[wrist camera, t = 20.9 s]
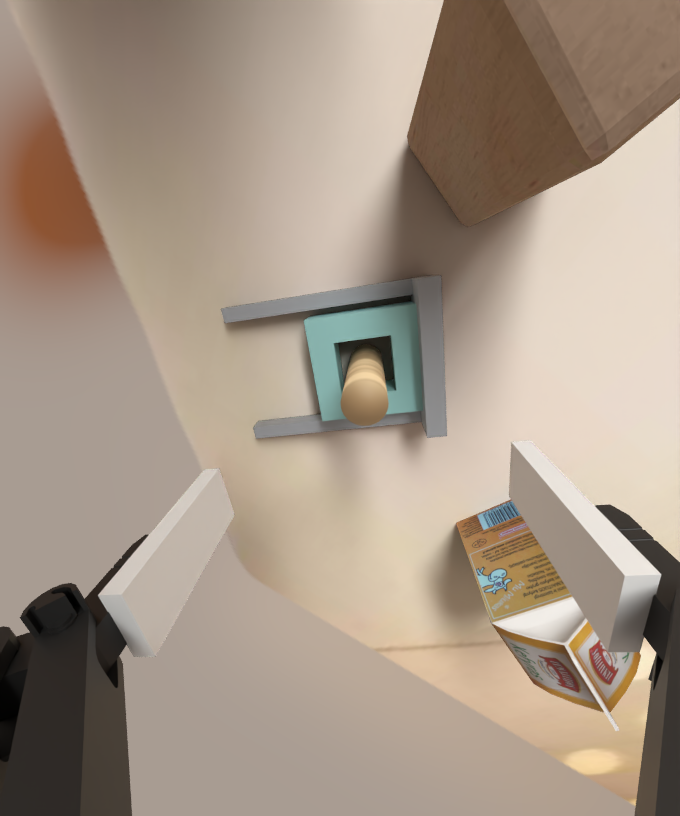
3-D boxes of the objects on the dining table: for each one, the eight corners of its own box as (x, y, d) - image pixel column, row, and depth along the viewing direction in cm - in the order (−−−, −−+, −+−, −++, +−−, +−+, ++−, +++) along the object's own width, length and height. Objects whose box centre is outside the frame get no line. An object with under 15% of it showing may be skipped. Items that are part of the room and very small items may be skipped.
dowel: (348, 346, 37) (337, 384, 24) (380, 342, 37) (386, 378, 24) (352, 376, 38) (344, 428, 25) (383, 373, 38) (390, 423, 25)
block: (463, 233, 32) (592, 174, 14) (401, 140, 30) (454, -82, 11) (561, 148, 29) (899, -75, 11) (500, 38, 27) (793, -496, 8)
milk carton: (562, 546, 45) (685, 718, 27) (489, 573, 48) (558, 745, 30) (531, 490, 42) (647, 643, 25) (456, 522, 45) (511, 680, 27)
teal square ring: (310, 316, 36) (303, 320, 33) (411, 300, 35) (416, 303, 31) (326, 407, 40) (322, 421, 36) (417, 397, 39) (423, 410, 35)
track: (228, 307, 37) (203, 312, 31) (429, 275, 34) (441, 275, 28) (261, 431, 42) (244, 455, 37) (436, 413, 39) (447, 435, 34)
